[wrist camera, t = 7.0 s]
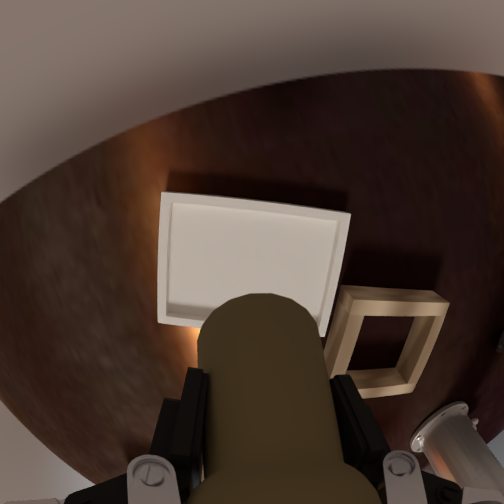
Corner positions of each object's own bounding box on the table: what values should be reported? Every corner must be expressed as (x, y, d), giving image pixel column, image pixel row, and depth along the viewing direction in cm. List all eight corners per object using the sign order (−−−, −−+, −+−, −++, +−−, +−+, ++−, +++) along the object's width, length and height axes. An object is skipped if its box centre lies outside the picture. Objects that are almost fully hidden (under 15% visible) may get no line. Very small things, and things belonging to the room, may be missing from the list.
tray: (344, 211, 25) (350, 213, 24) (320, 329, 28) (324, 336, 27) (165, 190, 24) (161, 192, 23) (161, 315, 27) (158, 322, 26)
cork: (193, 385, 14) (165, 582, 3) (203, 283, 12) (135, 554, 2) (303, 395, 15) (350, 576, 4) (334, 300, 13) (468, 509, 2)
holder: (432, 290, 28) (449, 302, 25) (400, 375, 31) (412, 392, 28) (340, 284, 27) (353, 299, 24) (314, 380, 30) (321, 401, 27)
